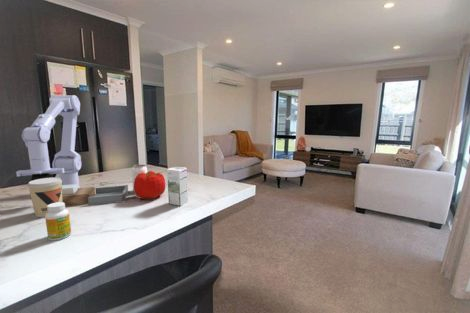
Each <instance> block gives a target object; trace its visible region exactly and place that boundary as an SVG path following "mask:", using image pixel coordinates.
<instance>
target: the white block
mask: <svg viewBox="0 0 470 313" xmlns="http://www.w3.org/2000/svg"><path fill="white" fill-rule="evenodd" d="M77 190H78V187H77V184H72V185H62V195H64V194H74V193H75V192H76V191H77Z"/></svg>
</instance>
